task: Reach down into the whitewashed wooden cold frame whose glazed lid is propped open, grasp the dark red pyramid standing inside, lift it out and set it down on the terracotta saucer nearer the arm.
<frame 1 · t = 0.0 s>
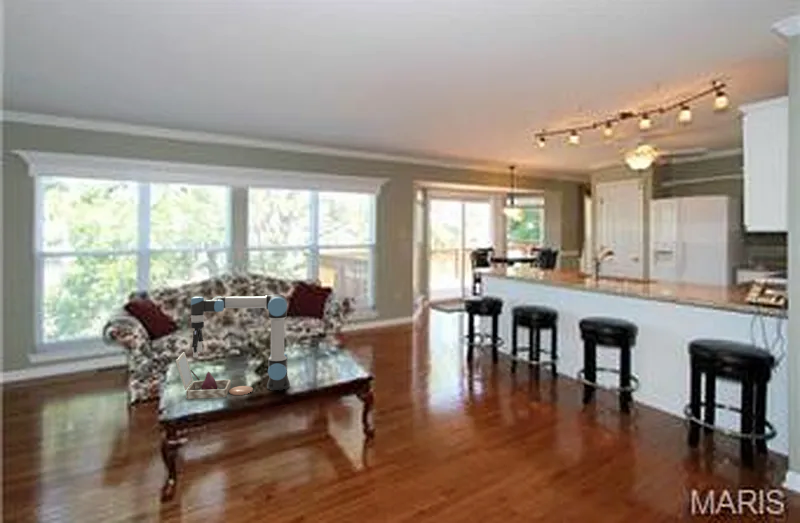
hand: (197, 354, 315), 28 cm above the table, fingers open, 13 cm apart
dark red pyramid: (209, 393, 327), on the table
lid: (184, 370, 323), point 15 cm above the table, hinge at 105.0°
cold frame: (209, 392, 327), on the table
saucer: (241, 391, 331), on the table
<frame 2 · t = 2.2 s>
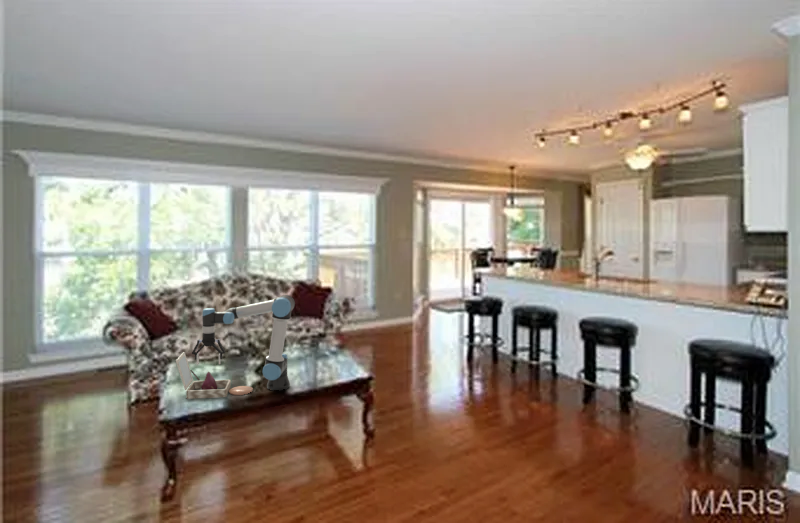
hand: (208, 364, 325), 19 cm above the table, fingers open, 13 cm apart
nothing on the table moved.
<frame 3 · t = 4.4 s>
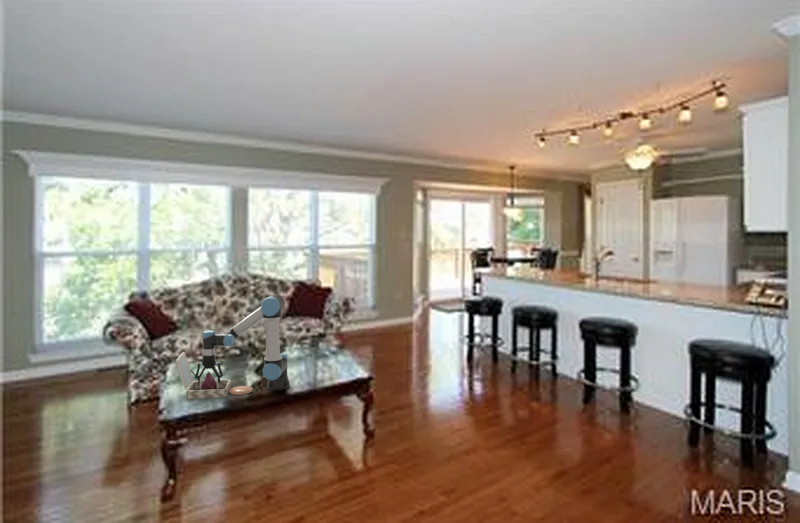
hand: (209, 387, 327), 3 cm above the table, fingers closed on dark red pyramid, 10 cm apart
dark red pyramid: (209, 392, 327), on the table, touching gripper
everything else where it was.
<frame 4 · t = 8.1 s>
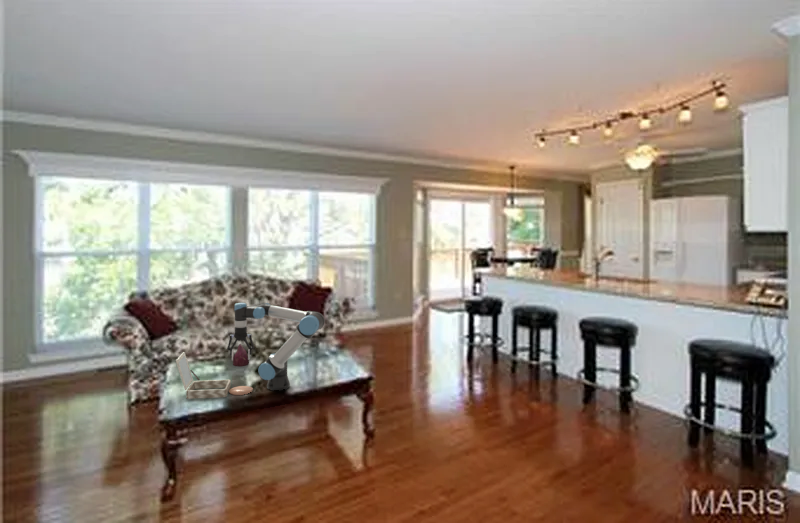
hand: (240, 359, 329), 21 cm above the table, fingers closed on dark red pyramid, 10 cm apart
dark red pyramid: (241, 364, 329), point 18 cm above the table, touching gripper
everything else where it was.
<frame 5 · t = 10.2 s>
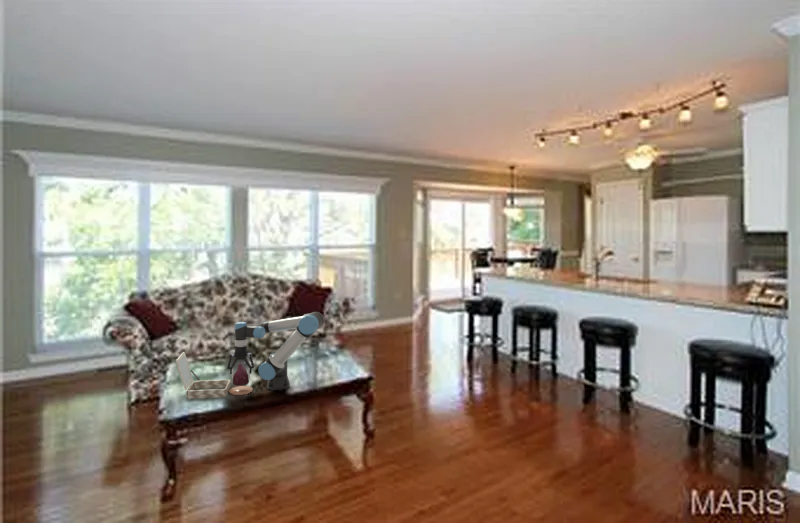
hand: (240, 378, 330), 9 cm above the table, fingers closed on dark red pyramid, 10 cm apart
dark red pyramid: (241, 383, 330), point 5 cm above the table, touching gripper
everything else where it was.
when the fingers open (6 cm above the table, at t = 11.9 s): dark red pyramid drops 1 cm, resting on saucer.
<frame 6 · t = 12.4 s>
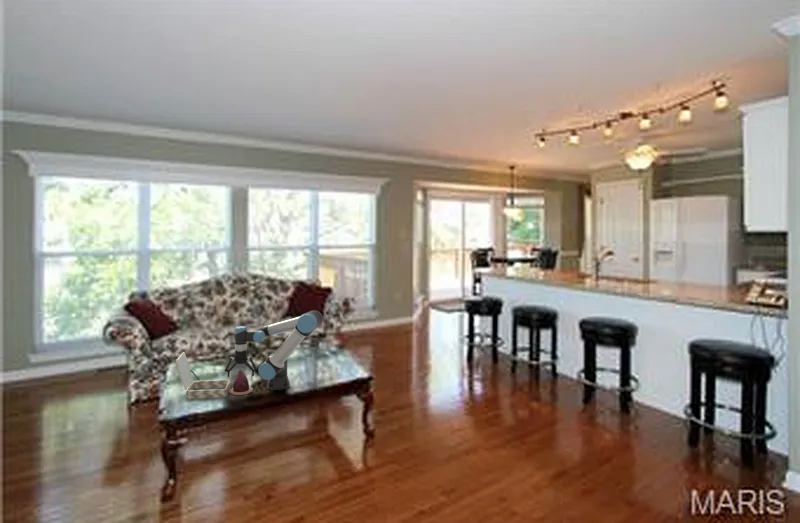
hand: (241, 381, 330), 7 cm above the table, fingers open, 13 cm apart
dark red pyramid: (241, 390, 331), point 1 cm above the table, touching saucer
everything else where it was.
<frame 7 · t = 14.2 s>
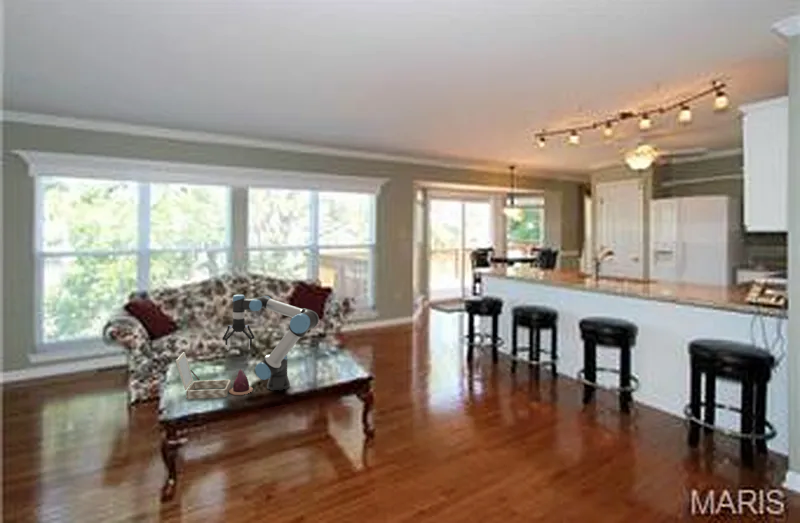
hand: (238, 349, 332), 27 cm above the table, fingers open, 13 cm apart
nothing on the table moved.
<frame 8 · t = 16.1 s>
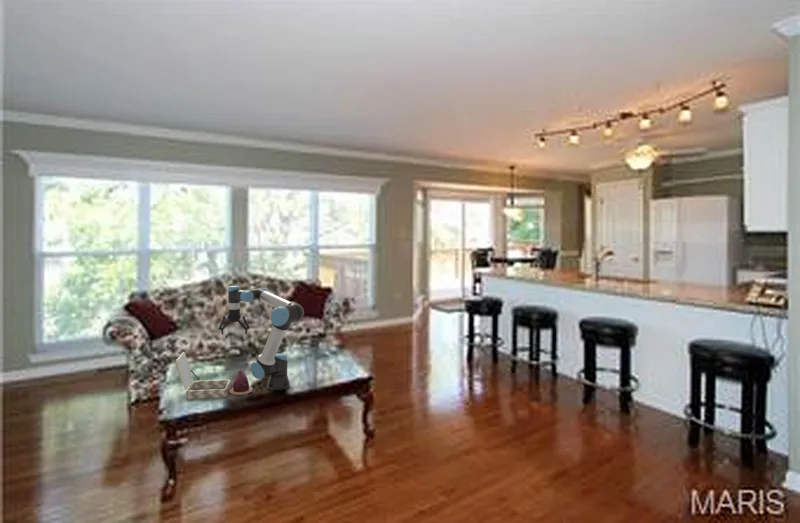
hand: (234, 339, 342), 32 cm above the table, fingers open, 13 cm apart
nothing on the table moved.
at the end: dark red pyramid 0.1 cm from the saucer (horizontally); dark red pyramid point 0.8 cm above the table; the gripper is holding nothing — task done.
